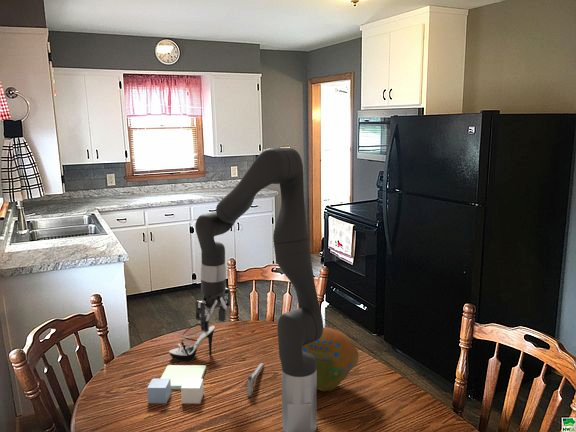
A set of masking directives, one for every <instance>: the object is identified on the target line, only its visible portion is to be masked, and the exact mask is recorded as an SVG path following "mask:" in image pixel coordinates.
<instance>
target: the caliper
mask: <svg viewBox="0 0 576 432" xmlns="http://www.w3.org/2000/svg"><path fill="white" fill-rule="evenodd" d="M264 365H265V363H263V362H261V363H259V364H258V366H257V367H256V369H255V370H254V372H253V373H251V374H249V375H248V377H247V385H246V388H247V389H246V390H247V391H246V392H247V394H246V395H247V397H252V394H253V391H254V390H253V389H254V385H255V383H256V379H257V378H258V376H259V374H261V372H262V370H263V368H264Z"/></svg>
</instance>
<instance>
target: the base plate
mask: <svg viewBox="0 0 576 432" xmlns="http://www.w3.org/2000/svg"><path fill="white" fill-rule="evenodd" d="M206 371H207V365H201V364H200V365H197V364H196V365H194V364H193V365H192V364H191V365H190V364H189V365H187V364H181V365H180V364H179V365H177V364H175V365H171V364H167V366H166V368H165V369H164V371H163V373H162V375H161V377H160V378H165V379H170V382H171V390H181V387H182V385H183V383H184V381H185V379H204V376H205V373H206Z"/></svg>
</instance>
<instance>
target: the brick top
mask: <svg viewBox="0 0 576 432" xmlns="http://www.w3.org/2000/svg"><path fill="white" fill-rule="evenodd" d="M146 389H147V390H146V391H147V403H148V404H167V402H168V400H169V399H170V397H171V394H172V389H171V382H170V379H165V378H161V377H160V378H159V377H158V378H152V379H151V380H150V382H149V384H148V385H147V388H146Z"/></svg>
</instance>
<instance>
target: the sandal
mask: <svg viewBox="0 0 576 432" xmlns="http://www.w3.org/2000/svg"><path fill="white" fill-rule="evenodd" d="M206 314H207V313H205V316H206ZM197 326H200V327H201V321H200V320H198V322H197V323H196V324H193V325H192V326H190V327H189V328H187V329H186V330H185V331H184V332H183V334H182V339H181V342H179V343H177V345H178V347H176V348H173V349H170V350H169V351H168V353H169V355H170V356H171V358H172V359H173V360H176V361H179V362H187V363H188V362H192V361H193V360H194V359H195V357H196V354H197V350H198V347H199V346H200V345H201V343H202V342H203V341H204V340H205V339H206V338H207V339H208V352H209V353H208V355H212V345H213V344H212V343H213V335H214V332H215V328H216V327H215V325H211V326H209V331H207V332H204V331H202V330H201V332H199V333H196V334H191V335H186V332H188V331H189V330H191V329H192V328H194V327H197ZM194 337H198V338H197V339H193V338H194ZM184 340H185V341H186V343H184ZM189 341H194V343H189ZM186 345H188V346H186Z"/></svg>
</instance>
